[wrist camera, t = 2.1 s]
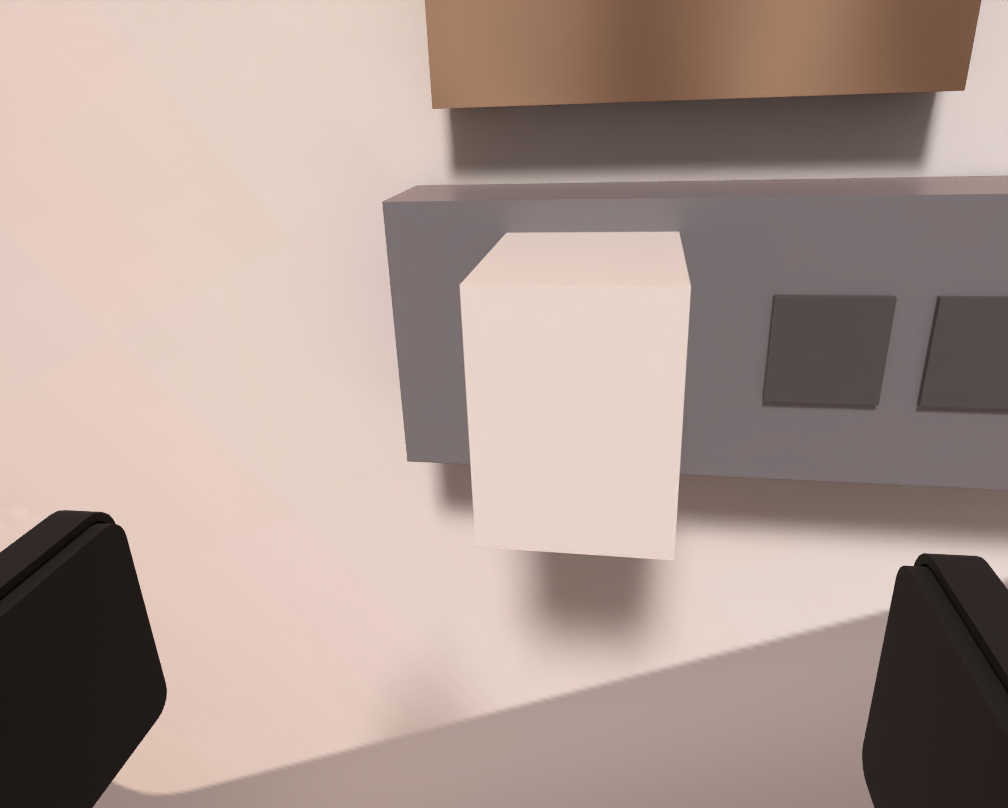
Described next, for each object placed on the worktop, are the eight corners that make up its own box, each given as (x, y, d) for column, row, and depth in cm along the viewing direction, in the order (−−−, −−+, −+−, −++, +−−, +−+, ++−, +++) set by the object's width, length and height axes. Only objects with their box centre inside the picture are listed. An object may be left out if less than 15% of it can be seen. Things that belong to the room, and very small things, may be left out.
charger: (676, 220, 19) (690, 286, 13) (666, 423, 21) (674, 560, 15) (516, 221, 19) (459, 284, 13) (522, 418, 21) (475, 547, 16)
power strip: (1154, 173, 18) (1275, 196, 14) (1077, 441, 21) (1163, 514, 17) (416, 185, 21) (371, 207, 17) (434, 417, 24) (399, 475, 20)
